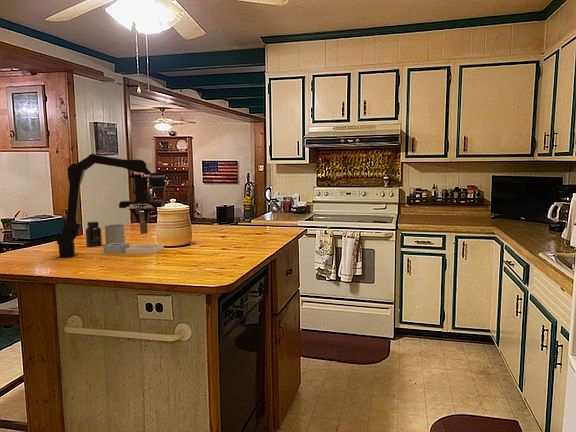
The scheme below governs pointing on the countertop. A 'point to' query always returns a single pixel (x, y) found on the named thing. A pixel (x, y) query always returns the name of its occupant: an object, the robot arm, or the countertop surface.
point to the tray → (145, 248)
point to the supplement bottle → (93, 234)
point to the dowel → (143, 223)
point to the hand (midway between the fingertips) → (143, 223)
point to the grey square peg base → (115, 247)
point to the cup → (114, 234)
